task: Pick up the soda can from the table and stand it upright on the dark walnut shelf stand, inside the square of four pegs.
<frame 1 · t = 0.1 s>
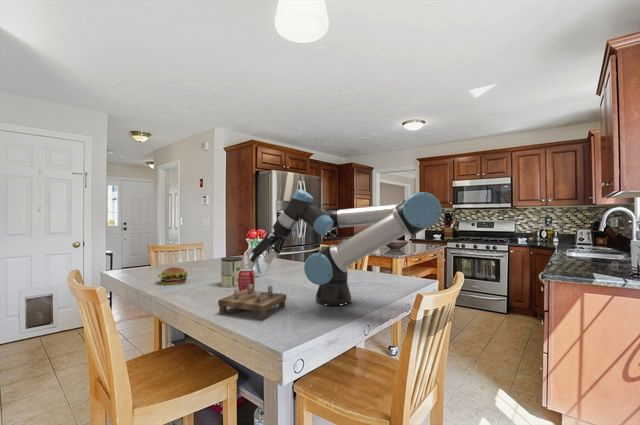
hand: (258, 265, 129), 15 cm above the table, tool tilted 35°, fingers open, 13 cm apart
coffee can: (231, 285, 159), on the table
soda can: (246, 297, 137), on the table
food: (172, 283, 163), on the table
peg shelf: (253, 310, 117), on the table
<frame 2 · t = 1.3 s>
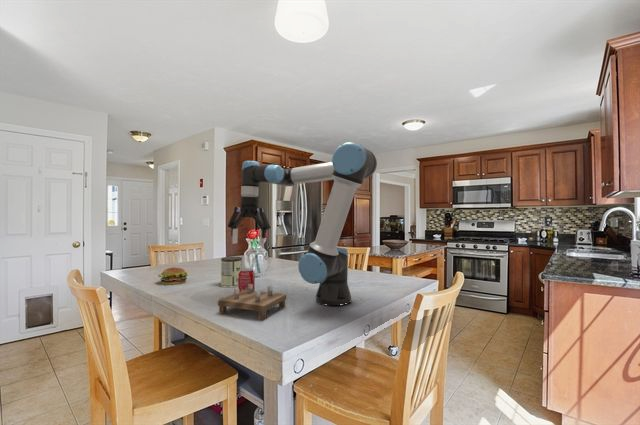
hand: (247, 244, 137), 23 cm above the table, tool pointing down, fingers open, 13 cm apart
nothing on the table moved.
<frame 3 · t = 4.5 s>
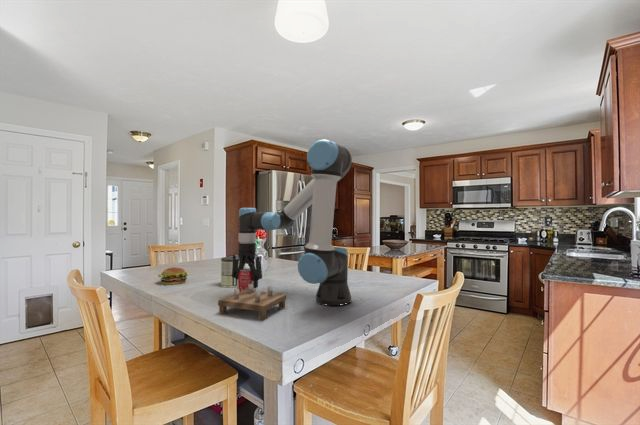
hand: (246, 294, 137), 1 cm above the table, tool pointing down, fingers closed on soda can, 7 cm apart
soda can: (246, 297, 137), on the table, touching gripper
everything else where it was.
when the fingers open (7 cm above the table, at t = 11.5 s): soda can drops 1 cm, resting on peg shelf.
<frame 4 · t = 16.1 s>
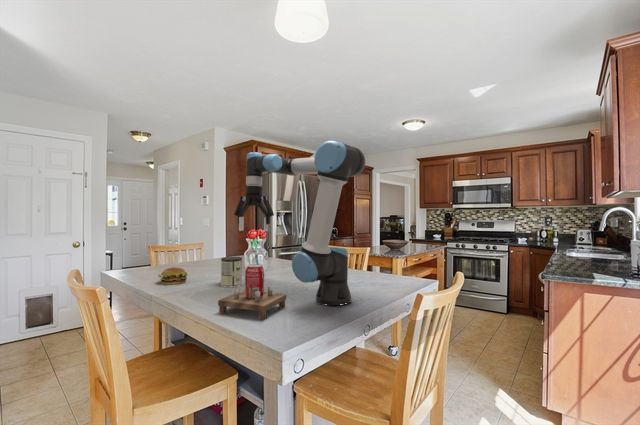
hand: (253, 231, 145), 29 cm above the table, tool pointing down, fingers open, 13 cm apart
soda can: (254, 297, 117), point 5 cm above the table, touching peg shelf
everything else where it was.
at the end: soda can 0.3 cm off-centre on the peg shelf, point 4.8 cm above the peg shelf's base; soda can tilted 0°; the gripper is holding nothing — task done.
